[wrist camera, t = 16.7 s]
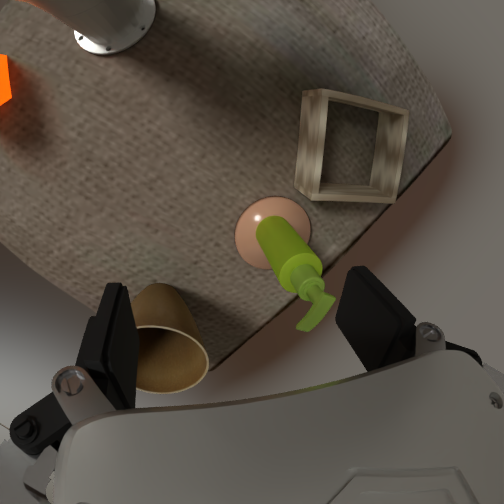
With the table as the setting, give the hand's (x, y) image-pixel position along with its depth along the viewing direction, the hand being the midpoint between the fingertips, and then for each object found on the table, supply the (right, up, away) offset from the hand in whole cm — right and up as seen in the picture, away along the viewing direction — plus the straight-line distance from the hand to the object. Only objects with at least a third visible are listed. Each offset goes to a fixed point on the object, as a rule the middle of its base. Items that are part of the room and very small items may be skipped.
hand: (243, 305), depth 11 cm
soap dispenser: (+3, +5, +36) cm, 36 cm away
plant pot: (-16, -6, +38) cm, 42 cm away
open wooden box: (+15, +20, +32) cm, 41 cm away
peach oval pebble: (+4, +5, +37) cm, 37 cm away
